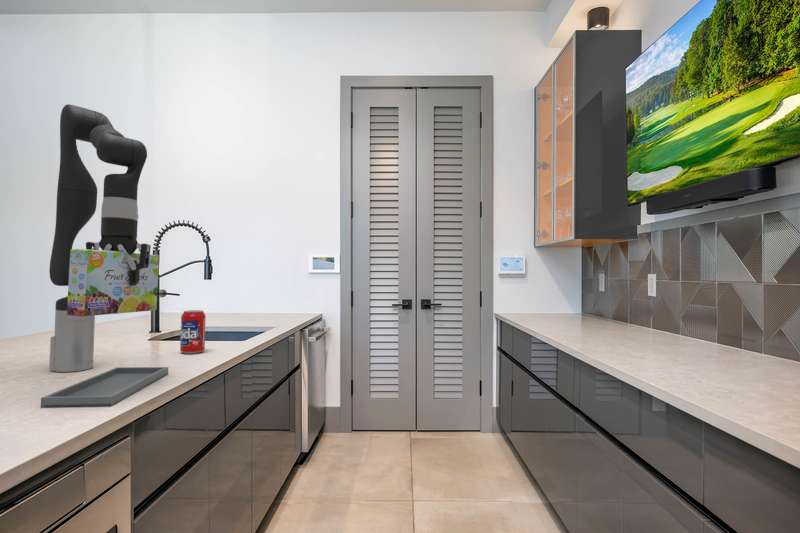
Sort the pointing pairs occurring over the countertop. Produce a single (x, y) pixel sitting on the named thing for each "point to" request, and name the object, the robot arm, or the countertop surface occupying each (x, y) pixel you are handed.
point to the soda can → (192, 332)
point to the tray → (105, 387)
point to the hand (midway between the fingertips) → (117, 285)
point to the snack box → (109, 284)
